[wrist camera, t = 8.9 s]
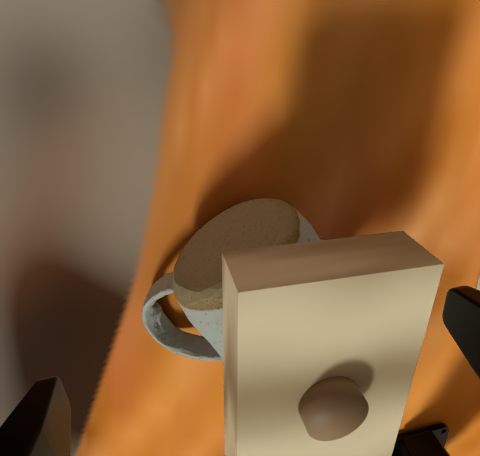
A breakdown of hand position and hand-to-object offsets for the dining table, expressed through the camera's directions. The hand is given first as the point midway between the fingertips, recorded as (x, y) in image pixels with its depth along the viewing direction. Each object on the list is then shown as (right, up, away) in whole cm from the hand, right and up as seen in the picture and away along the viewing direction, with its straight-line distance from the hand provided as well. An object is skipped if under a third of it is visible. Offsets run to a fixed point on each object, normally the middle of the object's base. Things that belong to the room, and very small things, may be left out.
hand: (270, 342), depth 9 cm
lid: (+2, -3, +8) cm, 9 cm away
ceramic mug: (-1, 0, +15) cm, 15 cm away
